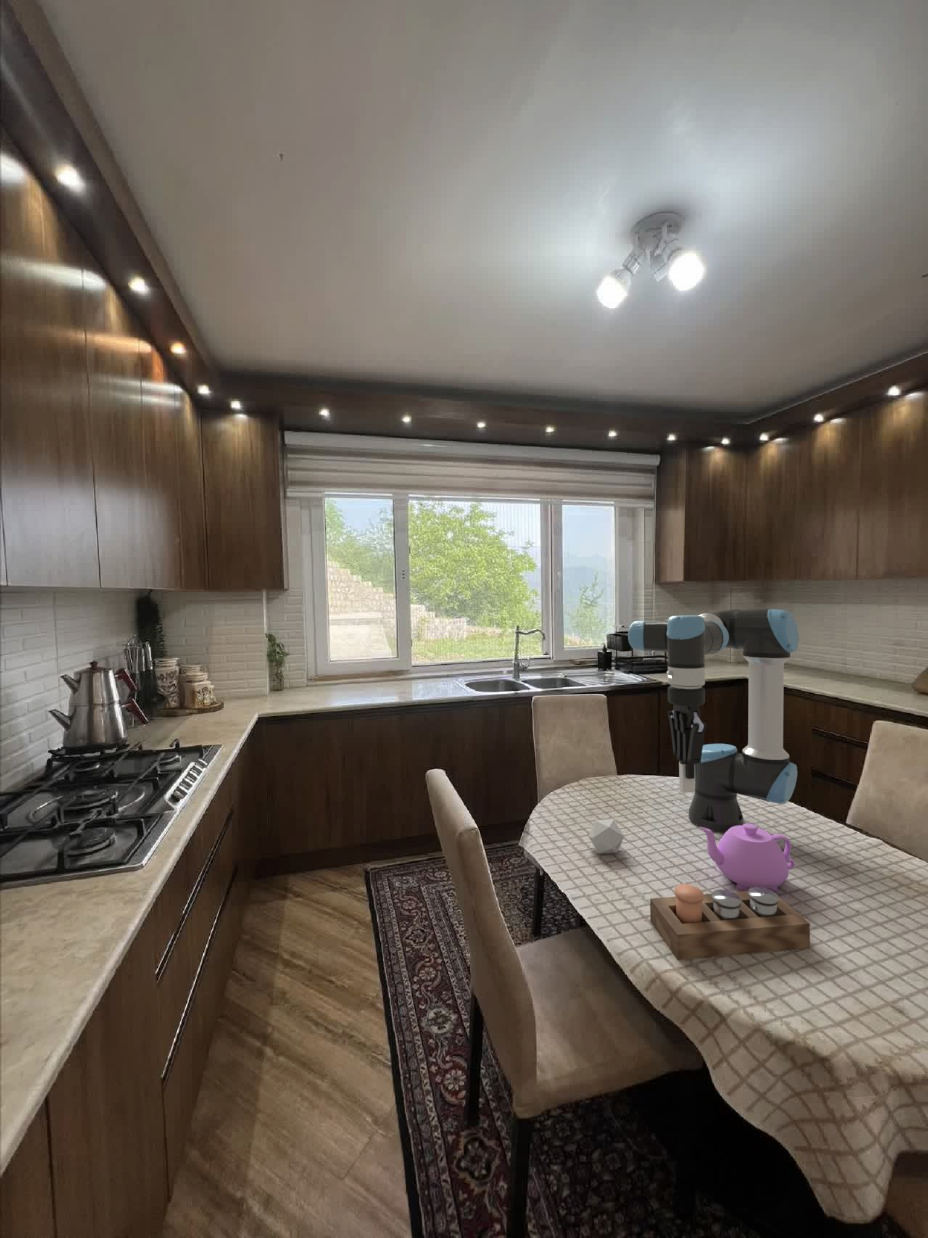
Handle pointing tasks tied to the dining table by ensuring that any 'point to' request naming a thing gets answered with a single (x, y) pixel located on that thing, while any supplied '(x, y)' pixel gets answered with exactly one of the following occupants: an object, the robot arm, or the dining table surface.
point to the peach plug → (688, 903)
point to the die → (606, 836)
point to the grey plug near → (763, 901)
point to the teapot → (751, 857)
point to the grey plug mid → (726, 905)
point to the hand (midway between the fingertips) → (686, 790)
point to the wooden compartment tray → (729, 930)
